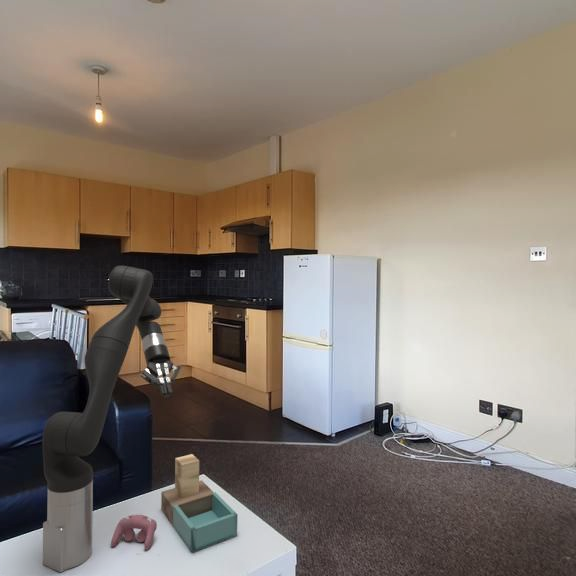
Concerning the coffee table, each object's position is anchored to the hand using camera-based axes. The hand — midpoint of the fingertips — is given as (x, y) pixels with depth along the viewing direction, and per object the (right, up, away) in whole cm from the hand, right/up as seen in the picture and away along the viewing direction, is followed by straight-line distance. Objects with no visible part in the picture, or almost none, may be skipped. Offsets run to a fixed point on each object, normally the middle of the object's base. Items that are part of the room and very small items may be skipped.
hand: (167, 395), depth 129 cm
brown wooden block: (+10, -28, -13) cm, 33 cm away
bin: (+16, -29, -22) cm, 40 cm away
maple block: (+9, -23, -13) cm, 28 cm away
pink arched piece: (0, -29, -28) cm, 40 cm away
